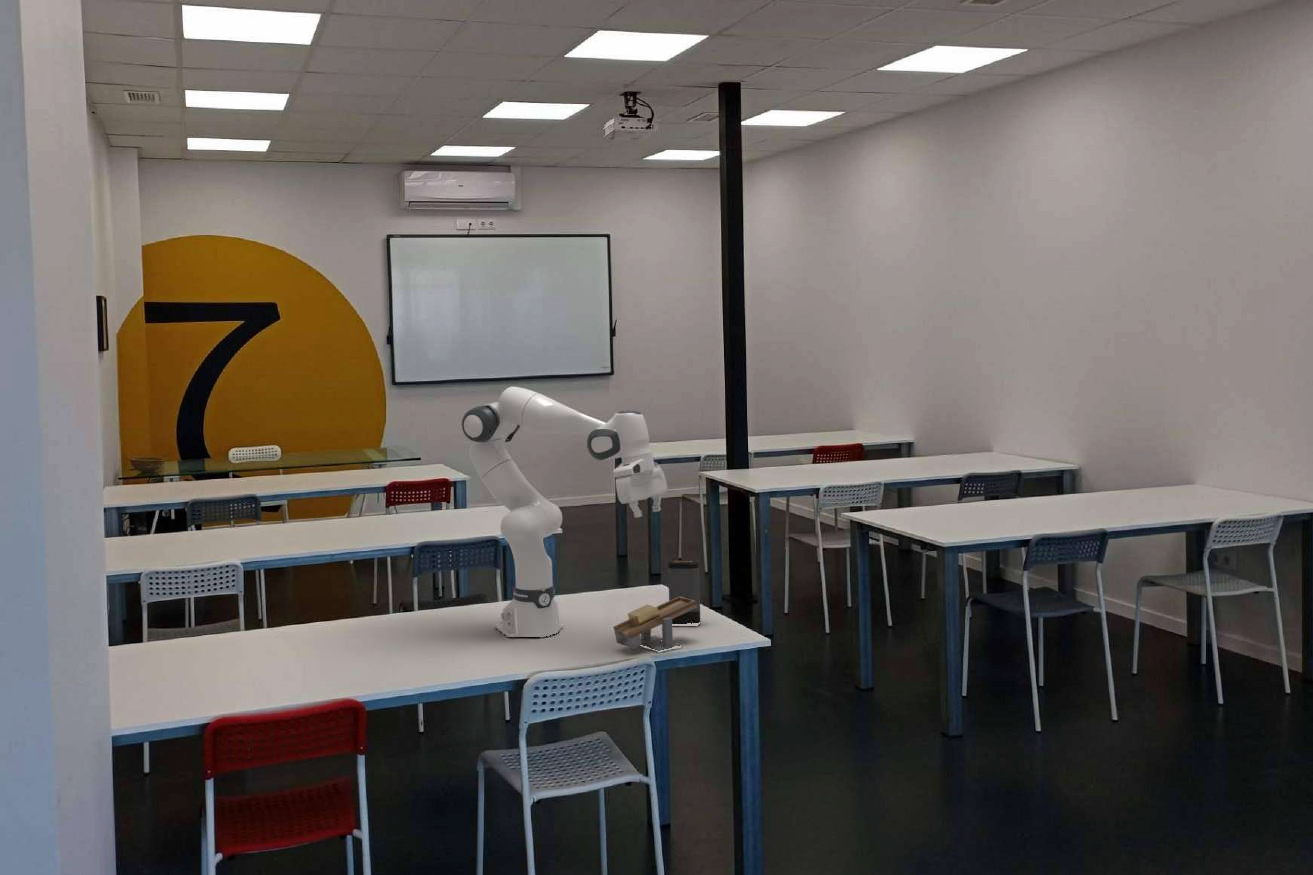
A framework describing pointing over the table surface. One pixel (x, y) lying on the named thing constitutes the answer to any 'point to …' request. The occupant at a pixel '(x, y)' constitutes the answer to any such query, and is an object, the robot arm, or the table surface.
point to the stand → (656, 641)
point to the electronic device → (685, 587)
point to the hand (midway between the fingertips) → (647, 514)
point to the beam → (652, 621)
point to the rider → (643, 615)
